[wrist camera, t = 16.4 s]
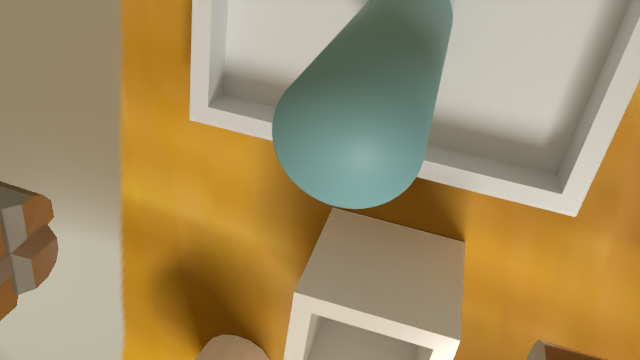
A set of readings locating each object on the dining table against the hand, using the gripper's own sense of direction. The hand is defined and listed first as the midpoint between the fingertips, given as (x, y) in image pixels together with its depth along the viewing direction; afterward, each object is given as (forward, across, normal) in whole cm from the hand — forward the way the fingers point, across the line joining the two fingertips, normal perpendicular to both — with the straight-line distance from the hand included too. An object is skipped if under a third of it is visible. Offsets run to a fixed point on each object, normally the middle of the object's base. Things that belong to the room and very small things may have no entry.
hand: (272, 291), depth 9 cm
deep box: (+21, -2, +16) cm, 27 cm away
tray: (+21, 0, 0) cm, 21 cm away
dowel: (+20, 0, 0) cm, 20 cm away
